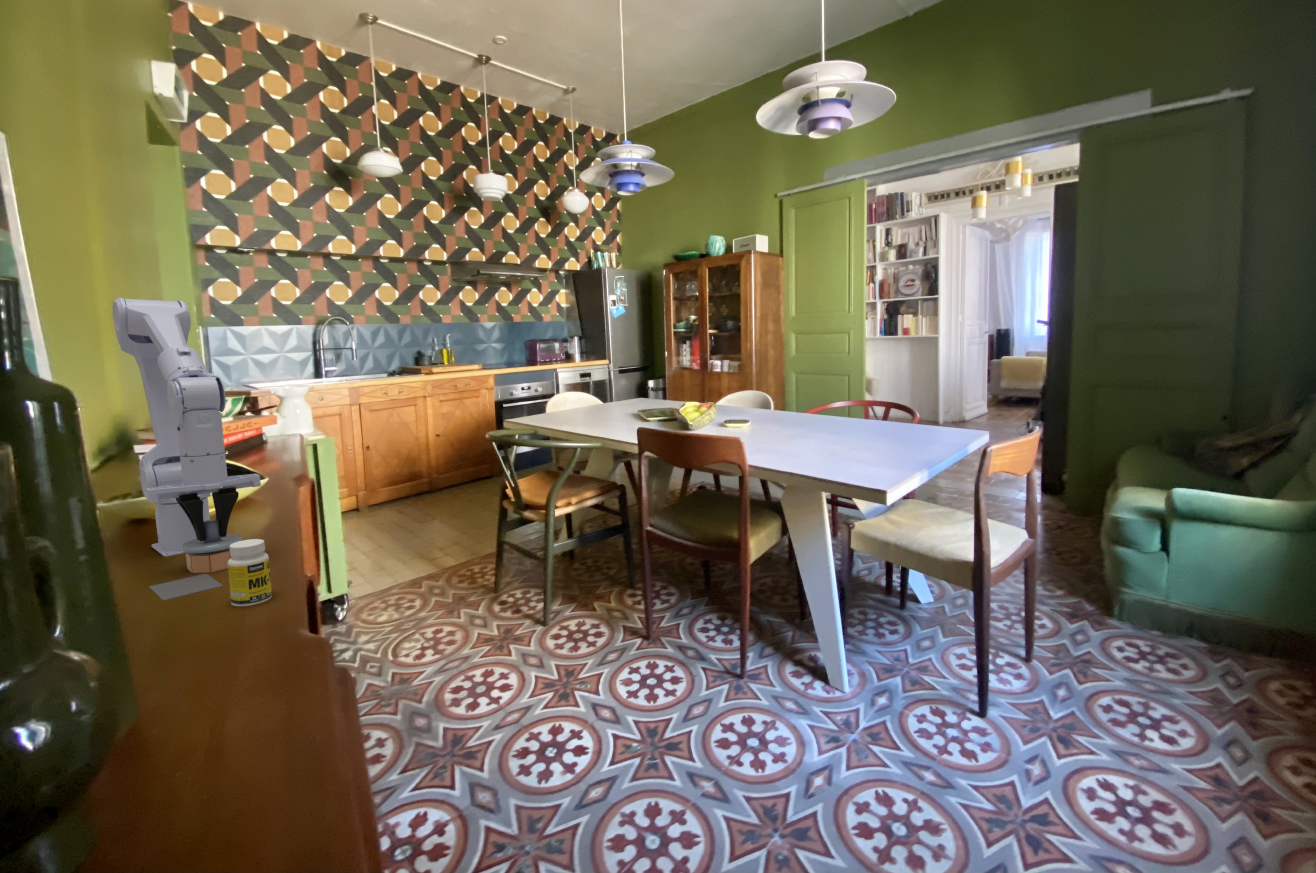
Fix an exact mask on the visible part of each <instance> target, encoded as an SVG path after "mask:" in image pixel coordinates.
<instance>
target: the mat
mask: <svg viewBox="0 0 1316 873" xmlns="http://www.w3.org/2000/svg"><path fill="white" fill-rule="evenodd" d="M223 585H224V584H223ZM223 585H222V583H220V582H219V581H218V580H216V579H215V578H213V577H212V576H211V575H209V574H208V572H206V573H200V574H197V575H193V576H189V577H183V578H180V579H175V580H171V581H167V582H163V583H159V584H154V585H150V586H148V587H149V589H150V590H151V591H153V592H154V594H156V596H157V597H158V598H160V599H161V600H162V602H163V601H168V600H171V599H172V600H173V599H176V598H180V597H184V596H188V595H191V594H192V595H193V594H197V593H199V592H205V591H209V590H212V589H217V588H221V587H223Z"/></svg>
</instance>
